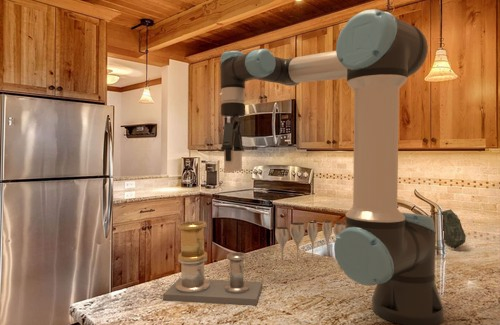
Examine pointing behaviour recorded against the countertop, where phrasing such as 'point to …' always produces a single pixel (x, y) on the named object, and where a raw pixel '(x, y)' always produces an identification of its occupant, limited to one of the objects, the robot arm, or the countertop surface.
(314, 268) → the countertop surface
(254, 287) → the plate
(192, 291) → the wide pipe stub
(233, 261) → the narrow pipe stub
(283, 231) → the goblet set
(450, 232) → the rock
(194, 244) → the gold flared knob
